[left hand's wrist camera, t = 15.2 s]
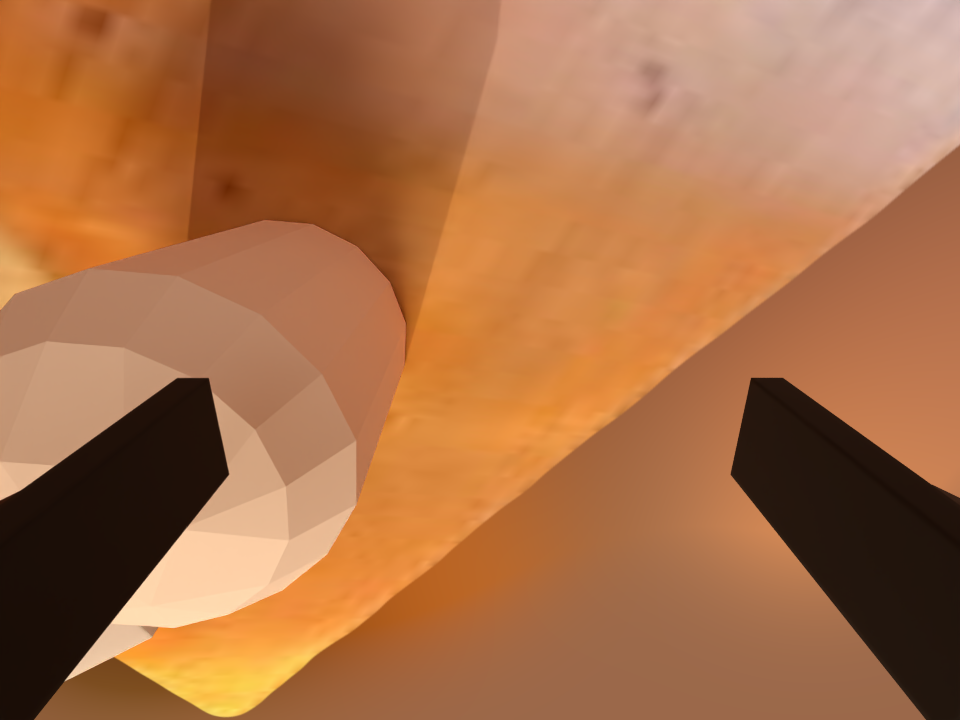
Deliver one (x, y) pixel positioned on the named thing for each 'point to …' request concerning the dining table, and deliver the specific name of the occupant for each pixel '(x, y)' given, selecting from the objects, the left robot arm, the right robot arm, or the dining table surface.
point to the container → (217, 394)
